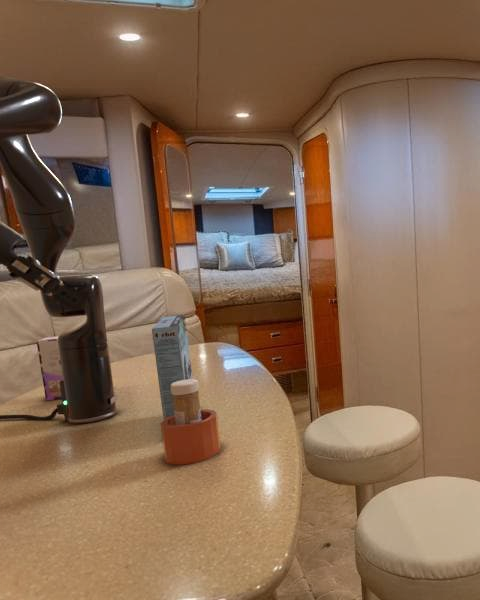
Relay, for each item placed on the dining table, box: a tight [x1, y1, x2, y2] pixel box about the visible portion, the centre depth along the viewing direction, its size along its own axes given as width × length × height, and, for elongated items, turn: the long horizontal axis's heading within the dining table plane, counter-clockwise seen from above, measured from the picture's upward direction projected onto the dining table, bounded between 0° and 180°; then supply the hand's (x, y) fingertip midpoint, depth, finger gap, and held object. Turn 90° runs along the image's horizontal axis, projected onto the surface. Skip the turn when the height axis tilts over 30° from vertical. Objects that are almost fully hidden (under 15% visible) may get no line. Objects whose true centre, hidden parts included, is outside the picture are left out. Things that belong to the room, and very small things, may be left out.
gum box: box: [151, 314, 194, 420], centre depth 111 cm, size 20×5×23 cm, turn 23°
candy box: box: [35, 335, 63, 401], centre depth 138 cm, size 14×6×16 cm, turn 108°
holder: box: [160, 408, 221, 465], centre depth 95 cm, size 9×9×7 cm
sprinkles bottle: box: [171, 378, 202, 425], centre depth 94 cm, size 5×5×14 cm
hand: (79, 303), depth 83 cm, fingers open, 8 cm apart
